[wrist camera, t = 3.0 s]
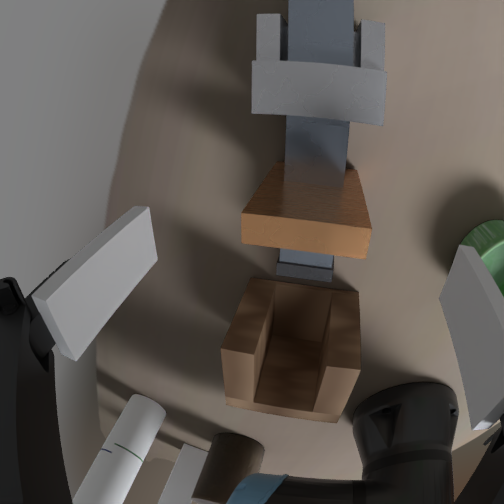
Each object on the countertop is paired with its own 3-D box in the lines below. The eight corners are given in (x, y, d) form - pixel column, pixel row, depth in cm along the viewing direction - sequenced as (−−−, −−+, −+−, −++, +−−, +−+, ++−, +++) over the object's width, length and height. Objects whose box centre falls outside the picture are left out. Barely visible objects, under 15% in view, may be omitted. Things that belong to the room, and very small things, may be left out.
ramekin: (507, 298, 23) (523, 327, 20) (436, 296, 25) (447, 328, 22) (535, 218, 19) (559, 241, 15) (459, 207, 21) (479, 231, 17)
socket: (358, 292, 27) (360, 370, 20) (342, 350, 31) (336, 423, 24) (250, 277, 29) (220, 348, 22) (250, 337, 33) (226, 404, 26)
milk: (182, 450, 59) (147, 528, 41) (184, 442, 56) (145, 527, 37) (208, 459, 58) (176, 539, 40) (211, 452, 55) (176, 539, 37)
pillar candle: (224, 427, 47) (195, 502, 34) (274, 446, 47) (253, 521, 34) (207, 440, 52) (181, 504, 40) (252, 458, 52) (232, 521, 40)
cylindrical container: (124, 391, 49) (62, 499, 28) (155, 397, 47) (91, 518, 26) (142, 413, 52) (89, 514, 32) (172, 419, 50) (119, 530, 29)
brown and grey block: (365, -1, 15) (387, -57, 6) (345, 249, 25) (345, 337, 17) (280, -7, 16) (242, -63, 8) (273, 240, 26) (242, 321, 18)
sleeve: (372, 37, 16) (388, 19, 11) (369, 115, 20) (383, 126, 14) (273, 29, 18) (252, 10, 13) (272, 105, 21) (251, 113, 16)
